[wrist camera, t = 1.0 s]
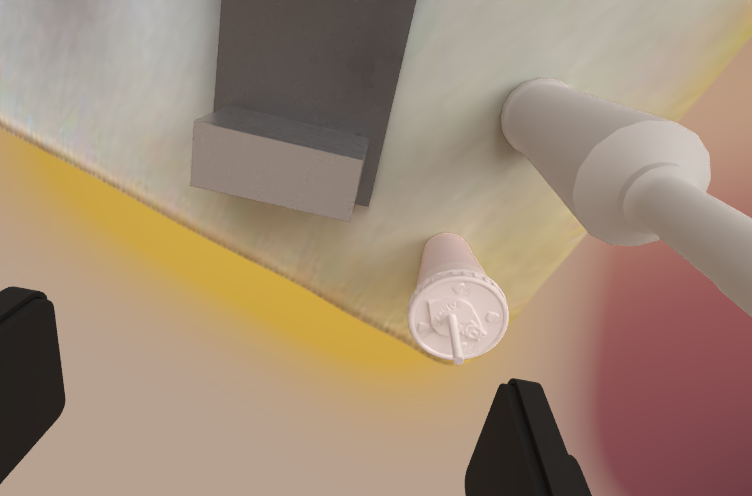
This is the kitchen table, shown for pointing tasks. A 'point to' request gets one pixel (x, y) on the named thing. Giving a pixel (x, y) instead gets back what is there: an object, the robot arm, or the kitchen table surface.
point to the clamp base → (301, 101)
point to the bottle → (631, 178)
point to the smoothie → (455, 302)
